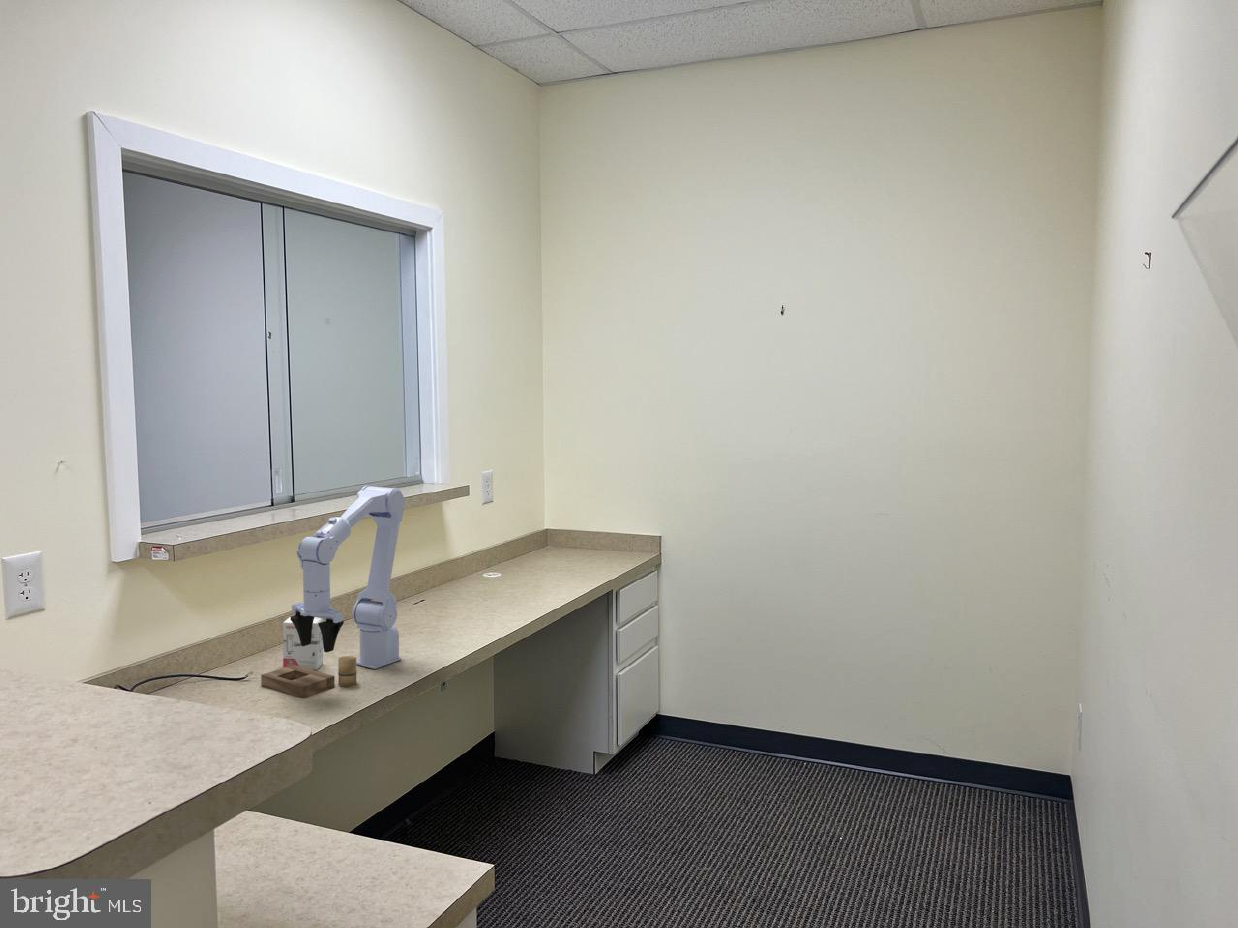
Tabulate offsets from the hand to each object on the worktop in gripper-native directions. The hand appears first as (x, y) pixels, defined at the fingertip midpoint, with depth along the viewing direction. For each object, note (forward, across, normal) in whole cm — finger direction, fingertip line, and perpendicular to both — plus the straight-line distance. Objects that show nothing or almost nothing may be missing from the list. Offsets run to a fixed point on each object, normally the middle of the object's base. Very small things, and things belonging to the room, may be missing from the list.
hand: (317, 648), depth 209 cm
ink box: (+10, -15, +8) cm, 20 cm away
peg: (+10, +3, +6) cm, 12 cm away
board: (+10, -5, -1) cm, 11 cm away
